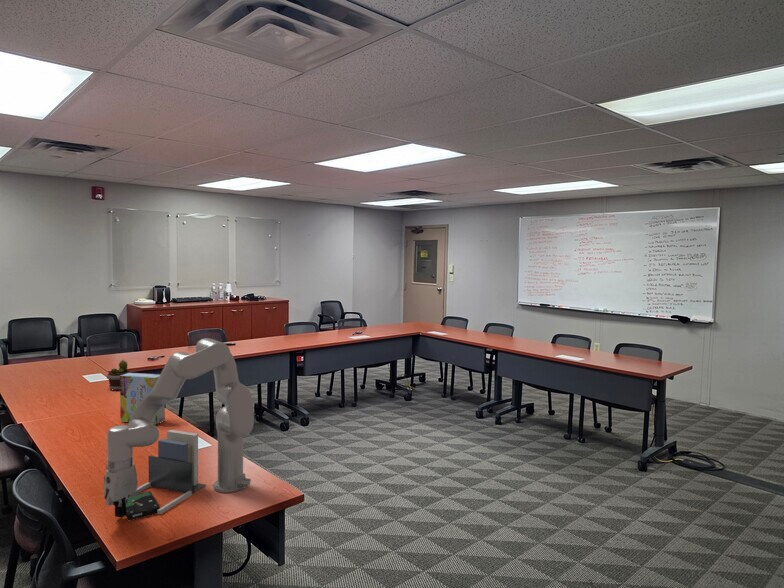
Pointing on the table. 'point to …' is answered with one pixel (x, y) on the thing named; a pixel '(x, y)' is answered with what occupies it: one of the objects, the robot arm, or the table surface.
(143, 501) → the disk drive
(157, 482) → the bookend
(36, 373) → the table surface
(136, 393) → the snack box
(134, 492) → the rails
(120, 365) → the flowerpot
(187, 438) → the book row
